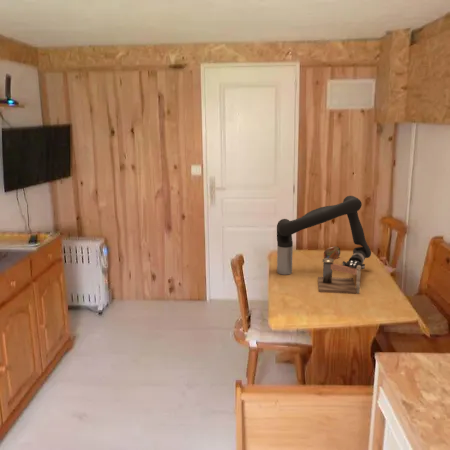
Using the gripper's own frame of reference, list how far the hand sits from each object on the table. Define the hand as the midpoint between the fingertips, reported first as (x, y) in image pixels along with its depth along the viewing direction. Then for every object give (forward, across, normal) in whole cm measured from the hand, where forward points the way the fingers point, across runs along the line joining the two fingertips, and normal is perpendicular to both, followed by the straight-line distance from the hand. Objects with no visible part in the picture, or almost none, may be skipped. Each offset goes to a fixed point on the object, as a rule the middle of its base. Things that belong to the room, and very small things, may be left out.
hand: (350, 269), depth 254 cm
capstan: (0, -6, +10) cm, 12 cm away
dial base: (-2, -7, +11) cm, 13 cm away
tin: (-49, -22, +12) cm, 55 cm away
